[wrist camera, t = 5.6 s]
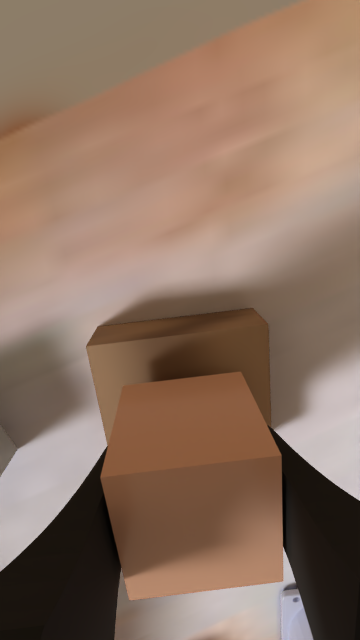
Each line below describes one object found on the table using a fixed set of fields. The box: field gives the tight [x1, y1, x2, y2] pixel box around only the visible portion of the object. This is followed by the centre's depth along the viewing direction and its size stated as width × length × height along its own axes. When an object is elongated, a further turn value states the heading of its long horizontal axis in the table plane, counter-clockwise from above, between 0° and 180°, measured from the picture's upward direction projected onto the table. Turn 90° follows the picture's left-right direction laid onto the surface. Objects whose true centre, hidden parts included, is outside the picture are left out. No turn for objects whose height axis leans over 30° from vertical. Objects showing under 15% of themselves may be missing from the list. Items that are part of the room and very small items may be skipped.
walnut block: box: [86, 308, 271, 445], centre depth 17 cm, size 8×8×3 cm
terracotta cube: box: [100, 372, 283, 600], centre depth 12 cm, size 5×5×5 cm
